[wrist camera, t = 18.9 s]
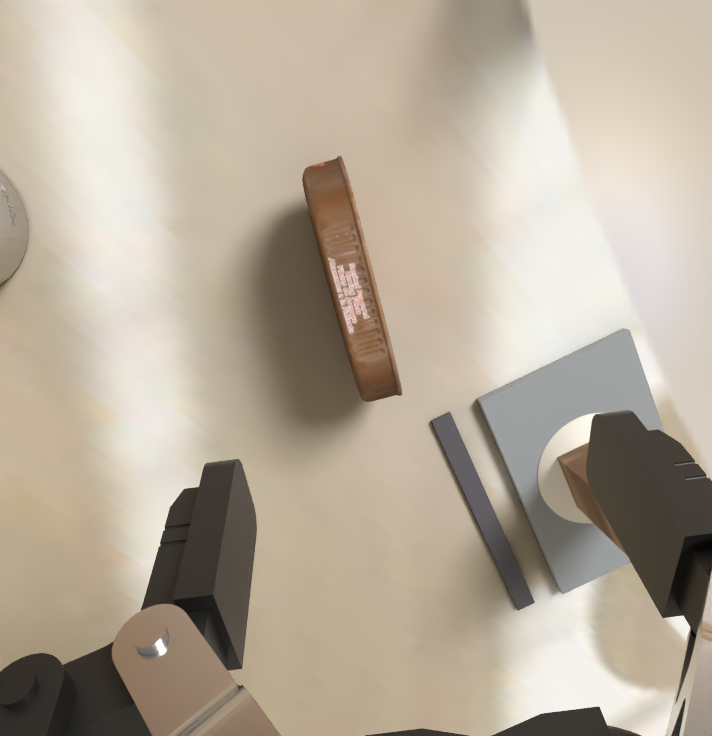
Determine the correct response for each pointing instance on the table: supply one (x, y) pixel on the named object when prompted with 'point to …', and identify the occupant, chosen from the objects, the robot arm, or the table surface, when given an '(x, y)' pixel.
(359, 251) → the tin
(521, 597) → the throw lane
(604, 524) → the square wooden post
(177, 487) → the table surface
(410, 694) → the table surface
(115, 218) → the table surface
